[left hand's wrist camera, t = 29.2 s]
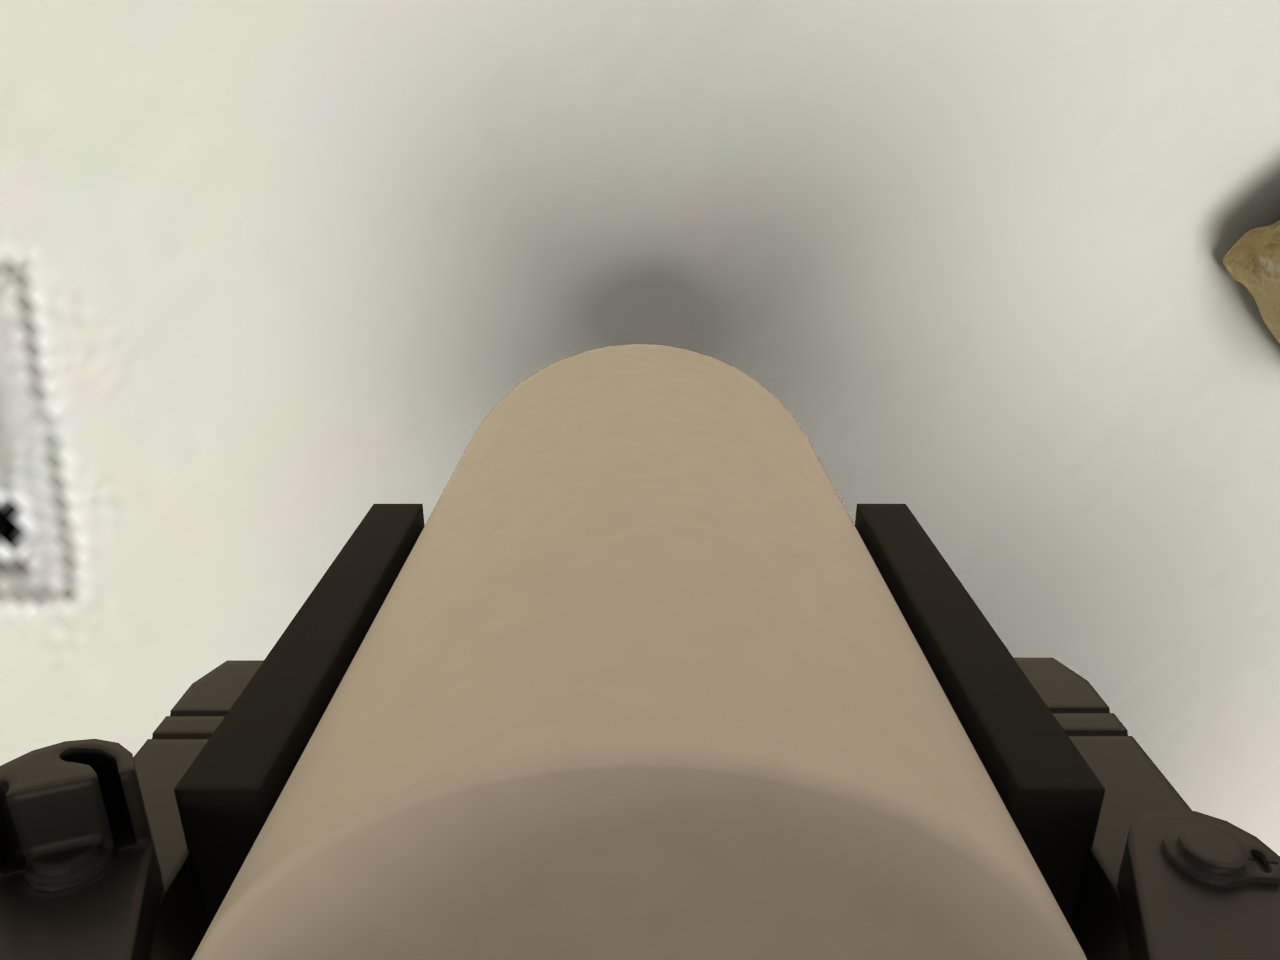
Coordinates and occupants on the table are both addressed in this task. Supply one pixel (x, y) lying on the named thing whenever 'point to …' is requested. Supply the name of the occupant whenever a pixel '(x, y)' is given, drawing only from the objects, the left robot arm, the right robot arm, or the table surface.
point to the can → (639, 716)
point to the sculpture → (1259, 270)
